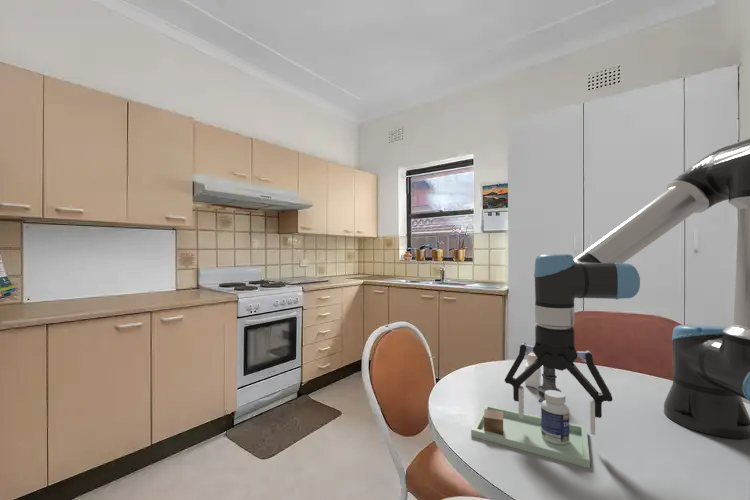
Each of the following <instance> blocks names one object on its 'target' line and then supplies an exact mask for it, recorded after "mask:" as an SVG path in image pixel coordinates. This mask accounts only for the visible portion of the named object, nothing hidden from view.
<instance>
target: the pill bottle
mask: <svg viewBox="0 0 750 500" xmlns="http://www.w3.org/2000/svg"><path fill="white" fill-rule="evenodd" d="M544 397H545V400H544V401H543V402H542V403H541V405H540V415H541V416H540V417H541V433H542V437H543V438H544V439H545V440H547V441H548V442H551V443H554V444H559V445H564V444H567V443H568V442H569V423H570V407H569V406H568V405H567V404H566V394H565V393H563V392H562V391H561V392H559V391H555V390H546V391H545V396H544Z"/></svg>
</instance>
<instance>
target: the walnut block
mask: <svg viewBox="0 0 750 500" xmlns="http://www.w3.org/2000/svg"><path fill="white" fill-rule="evenodd" d="M484 431H488V432H492V433H495V434H499V435H503V412H500V411H494V410H487V409H484Z"/></svg>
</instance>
